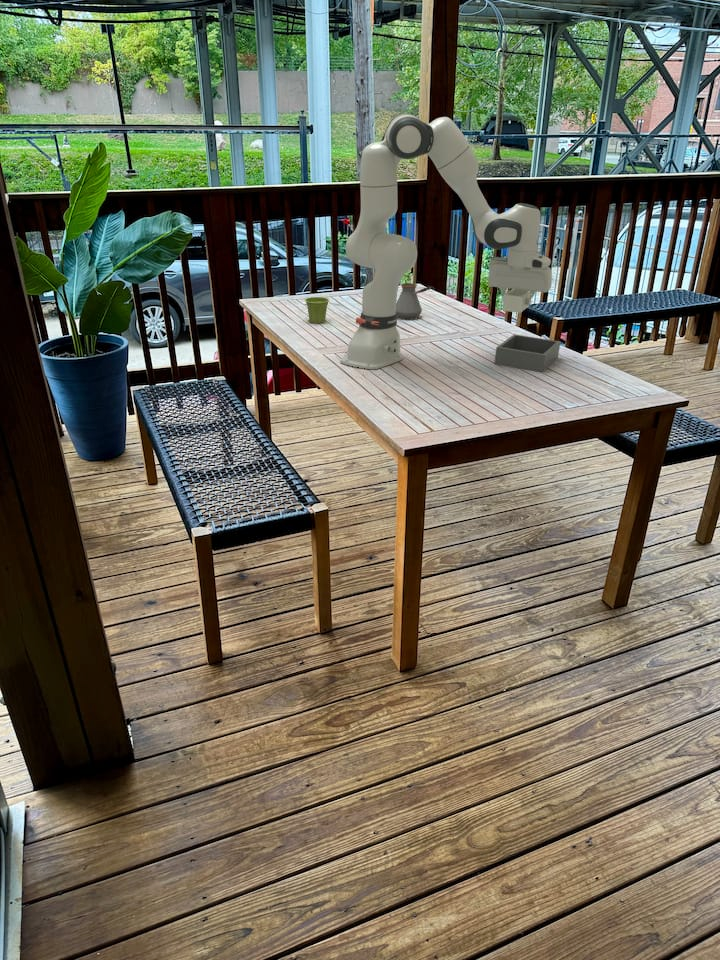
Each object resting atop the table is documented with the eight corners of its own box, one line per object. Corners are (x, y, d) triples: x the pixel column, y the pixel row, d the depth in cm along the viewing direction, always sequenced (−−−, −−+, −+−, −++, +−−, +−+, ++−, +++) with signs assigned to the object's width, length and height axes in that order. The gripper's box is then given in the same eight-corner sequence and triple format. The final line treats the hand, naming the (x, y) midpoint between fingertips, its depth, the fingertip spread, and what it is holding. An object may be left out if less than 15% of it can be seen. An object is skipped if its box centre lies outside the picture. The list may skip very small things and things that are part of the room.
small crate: (520, 312, 208) (522, 297, 206) (502, 310, 211) (503, 294, 208) (529, 305, 216) (531, 290, 214) (511, 303, 219) (513, 288, 216)
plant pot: (333, 322, 256) (333, 300, 252) (313, 326, 252) (312, 303, 247) (321, 317, 263) (321, 295, 259) (301, 320, 258) (300, 298, 254)
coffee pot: (388, 315, 268) (389, 278, 261) (411, 312, 273) (412, 275, 266) (418, 327, 252) (420, 288, 245) (441, 323, 257) (444, 285, 250)
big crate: (542, 373, 206) (545, 355, 204) (494, 365, 213) (496, 347, 210) (557, 358, 220) (560, 341, 217) (511, 351, 227) (514, 334, 224)
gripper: (486, 257, 208) (482, 301, 215) (550, 263, 199) (544, 308, 206) (493, 254, 213) (489, 297, 219) (556, 260, 204) (549, 304, 211)
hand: (516, 302), depth 213 cm, fingers closed on small crate, 6 cm apart
